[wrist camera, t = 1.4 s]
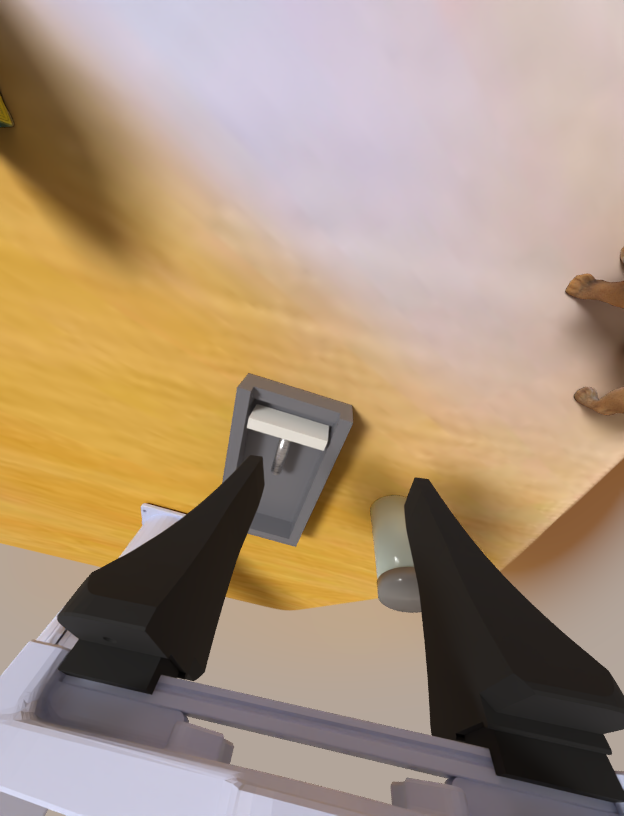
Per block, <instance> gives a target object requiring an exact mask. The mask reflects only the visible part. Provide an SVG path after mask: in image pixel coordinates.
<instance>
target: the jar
mask: <svg viewBox="0 0 624 816" xmlns="http://www.w3.org/2000/svg"><path fill="white" fill-rule="evenodd" d="M406 499H407V497H404V496H398V495H391V496H385V497H382V498H380V499H378V500H376V501H375V502H374V503H373V504H372V506H371V508H370V515H371V524H372V533H373V542H374V551H375V560H376V569H377V578H378V579H377V589H378V598H379V600H380V602H381V603H382V604H383V605H385V606H387V607H388V608H391V609H393V610H397V611H402V612H412V613H413V612H421V604H420V596H419V589H418V583H417V578H416V573H415V568H414V564H413V559H412V555H411V550H410V545H409V540H408V536H407V531H406V524H405V513H404V504H405V502H406Z"/></svg>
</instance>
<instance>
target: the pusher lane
mask: <svg viewBox="0 0 624 816" xmlns="http://www.w3.org/2000/svg"><path fill="white" fill-rule="evenodd" d="M256 404H259V405H262V406H266V407H269V408H272V409H275V410H279V411H282V412H285V413H289V414H292V415H295V416H298V417H302V418H305V419H308V420H311V421H315V422H318V423H321V424H325V425H328V426H329V432H328V442H327V444H326V447H325V449H324V451H322V450H319V449H315V448H312V447H309V446H305V445H302V444H299V443H295V442H292V441H291V444H290V447H289V450H288V453H287V457H286V460H285V463H284V466H283V469H282V472H281V473H280V474H279V475H273V474H272V472H271V467H272V463H273V460H274V456H275V453H276V449H277V446H278V442H279V439H280V438H279V437H275V436H272V435H269V434H265V433H262V432H259V431H255V430H252V429H249V428H247V424H248V419H249V416H250V415H251V413H252V411H253V410H254V408H255V406H256ZM352 424H353V411H352V405H349V404H346V403H343V402H340V401H336V400H333V399H330V398H327V397H324V396H320V395H317V394H314V393H311V392H308V391H304V390H301V389H298V388H295V387H292V386H288V385H285V384H282V383H279V382H276V381H272V380H269V379H266V378H263V377H259V376H256V375H253V374H250V373H248V375H247V376H246V377H245V378H244V380H243V381H242V382H241V383H240V385H239V386H238V387H237V393H236V399H235V405H234V412H233V418H232V425H231V431H230V437H229V444H228V450H227V457H226V463H225V469H224V476H223V482H224V481H225V480H226V479H227V478H228V477H229V476H230V475H231V474H232V473H233V472H234V471H235V470H236V469H237V468H238V467H239V466H240V465H241V464H242V463H243V462H244V461H245V460H246V459H247V457H248V456H250V455H255V456H262V457H263V468H264V481H265V486H264V490H263V493H262V497H261V500H260V504H259V507H258V509H257V511H256V514H255V516H254V519H253V521H252V524H251V526H250V528H249V531H248V534H251V535H255V536H259V537H262V538H266V539H269V540H273V541H277V542H280V543H284V544H288V545H291V546H295V547H296V545H297V543H298V541H299V539H300V537H301V534H302V532H303V530H304V528H305V526H306V524H307V521H308V519H309V517H310V515H311V513H312V511H313V508H314V506H315V504H316V502H317V500H318V498H319V496H320V493H321V491H322V489H323V487H324V485H325V483H326V480H327V478H328V476H329V474H330V472H331V470H332V468H333V465H334V463H335V461H336V459H337V457H338V455H339V452H340V450H341V448H342V446H343V444H344V442H345V439H346V437H347V435H348V433H349V431H350V429H351V427H352ZM223 482H222V483H223Z"/></svg>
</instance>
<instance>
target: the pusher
mask: <svg viewBox="0 0 624 816" xmlns="http://www.w3.org/2000/svg"><path fill="white" fill-rule="evenodd" d="M247 428H249V429H252V430H255V431H259V432H262V433H265V434H269V435H272V436H275V437H279V438H280V439H279V442H278V446H277V449H276V453H275V456H274V460H273V463H272V467H271V472H272V474H273V475H279V474H280V473H281V472H282V469H283V466H284V463H285V460H286V457H287V453H288V450H289V447H290V444H291V441H292V442H295V443H299V444H302V445H305V446H309V447H312V448H315V449H319V450H322V451H324V449H325V447H326V444H327V442H328V432H329V426H328V425H325V424H321V423H318V422H315V421H311V420H308V419H305V418H302V417H298V416H295V415H292V414H289V413H285V412H282V411H279V410H275V409H272V408H269V407H266V406H262V405H259V404H256V406H255V408H254V410H253V411H252V413H251V415H250V416H249V419H248V424H247Z"/></svg>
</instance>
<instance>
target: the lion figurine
mask: <svg viewBox="0 0 624 816" xmlns="http://www.w3.org/2000/svg"><path fill="white" fill-rule="evenodd" d="M620 257H621V260H622V262H623V263H624V247H623V248H622V250H621V254H620ZM566 292H567V293H568V294H569V295H571V296H574V297H577V298H580V299H593V300H600V301H603V302H606V303H609V304H611V305H613V306H617V307H621V308H623V309H624V281H621V282H612V283H610V282H606V281H603V280H596V279H595V278H594V277H593V276H592V275H591V274H583V275H577V276H576V277H575V278H574V279H573V280H572V281H571V282H570V283H569V285H568V287H567V288H566ZM574 397H575V399H576V400H577V401H578V402H579V403H581V404H583V405H584V406H586V407H589V408H591V409H593V410H594V411H596V412H598V413H601V414H604V415H613V414H615V413H623V414H624V387H621V388H618V389H615V390H613V391H611V392H610V393H608V394H607V395H606V396H604V397H603V398H601V399H600V400H599V399H598V397H597V392H596V390H595V389H594V388H592V387H584V388H582V389H579V390H578V391H577V392H576V393H575V395H574Z"/></svg>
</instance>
